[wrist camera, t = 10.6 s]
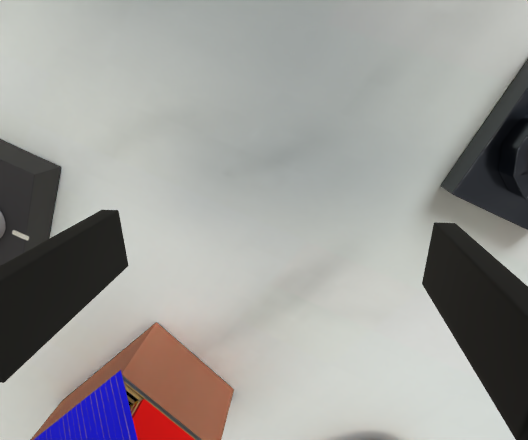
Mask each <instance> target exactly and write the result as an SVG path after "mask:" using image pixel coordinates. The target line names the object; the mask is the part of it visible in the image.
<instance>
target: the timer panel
mask: <svg viewBox="0 0 528 440" xmlns="http://www.w3.org/2000/svg"><path fill="white" fill-rule="evenodd" d="M60 171H61V167H60V166H58V165H55V164H53V163H51V162H49V161H47V160H44V159H42V158H40V157H38V156H36V155H33V154H31V153H29V152H27V151H25V150H22V149H20V148H18V147H16V146H14V145H11V144H9V143H7V142H5V141H3V140H0V211H1V213H2V215H3V217H4V220H5V232H4V234H3V236H2V237H1V238H0V266H1V265H3V264H5V263H6V262H8V261H10V260H12V259H14V258H15V257H17V256H19V255H21V254H23V253H25V252H26V251H28V250H30V249H32V248H34V247H35V246H37V245H39V244H41V243H43V242H45V241H46V240H48V239H49V235H50V229H51V223H52V217H53V212H54V206H55V200H56V194H57V189H58V183H59V177H60Z"/></svg>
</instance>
